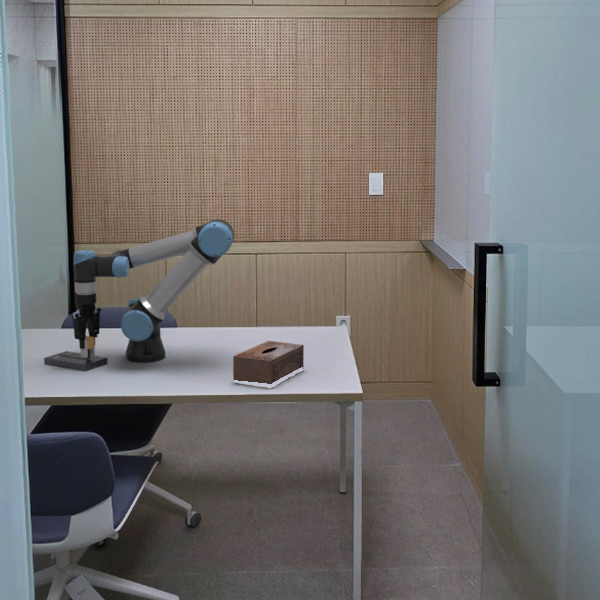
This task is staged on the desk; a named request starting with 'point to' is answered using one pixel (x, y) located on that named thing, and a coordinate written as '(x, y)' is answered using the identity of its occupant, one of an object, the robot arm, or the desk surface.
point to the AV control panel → (75, 361)
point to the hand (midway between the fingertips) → (87, 355)
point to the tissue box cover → (268, 362)
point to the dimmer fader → (90, 344)
